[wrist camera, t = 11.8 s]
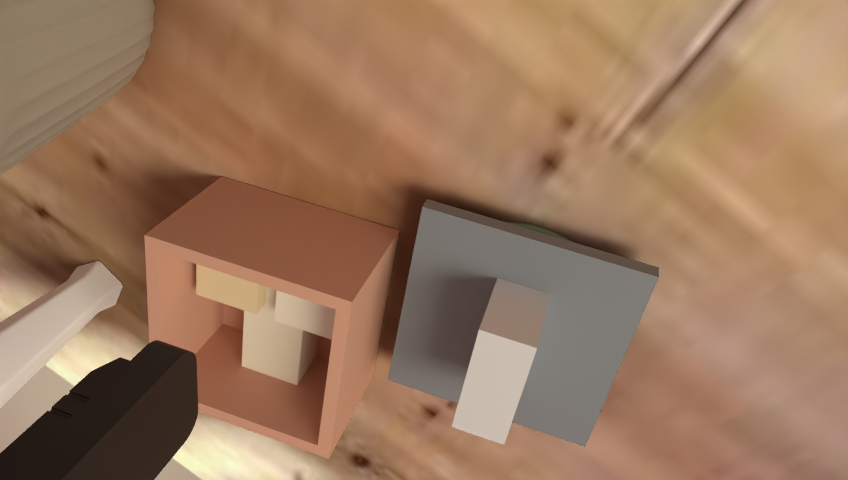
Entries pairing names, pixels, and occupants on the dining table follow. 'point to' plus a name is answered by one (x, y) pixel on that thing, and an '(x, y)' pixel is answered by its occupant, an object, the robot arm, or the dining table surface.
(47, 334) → the perfume bottle
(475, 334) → the lid
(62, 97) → the canister
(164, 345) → the robot arm
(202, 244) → the crate
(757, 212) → the dining table surface
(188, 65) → the dining table surface
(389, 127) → the dining table surface
